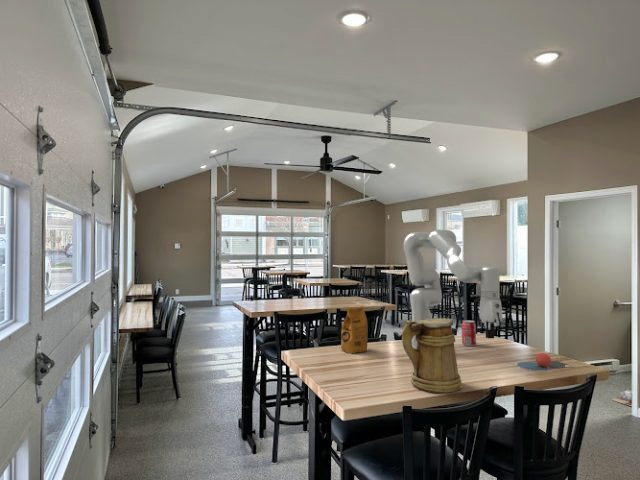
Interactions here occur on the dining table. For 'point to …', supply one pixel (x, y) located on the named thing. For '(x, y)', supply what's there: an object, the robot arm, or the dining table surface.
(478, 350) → the dining table surface
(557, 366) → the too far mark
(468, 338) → the soda can
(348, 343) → the coffee package
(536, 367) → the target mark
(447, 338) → the tankard
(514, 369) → the dining table surface
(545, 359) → the ball
